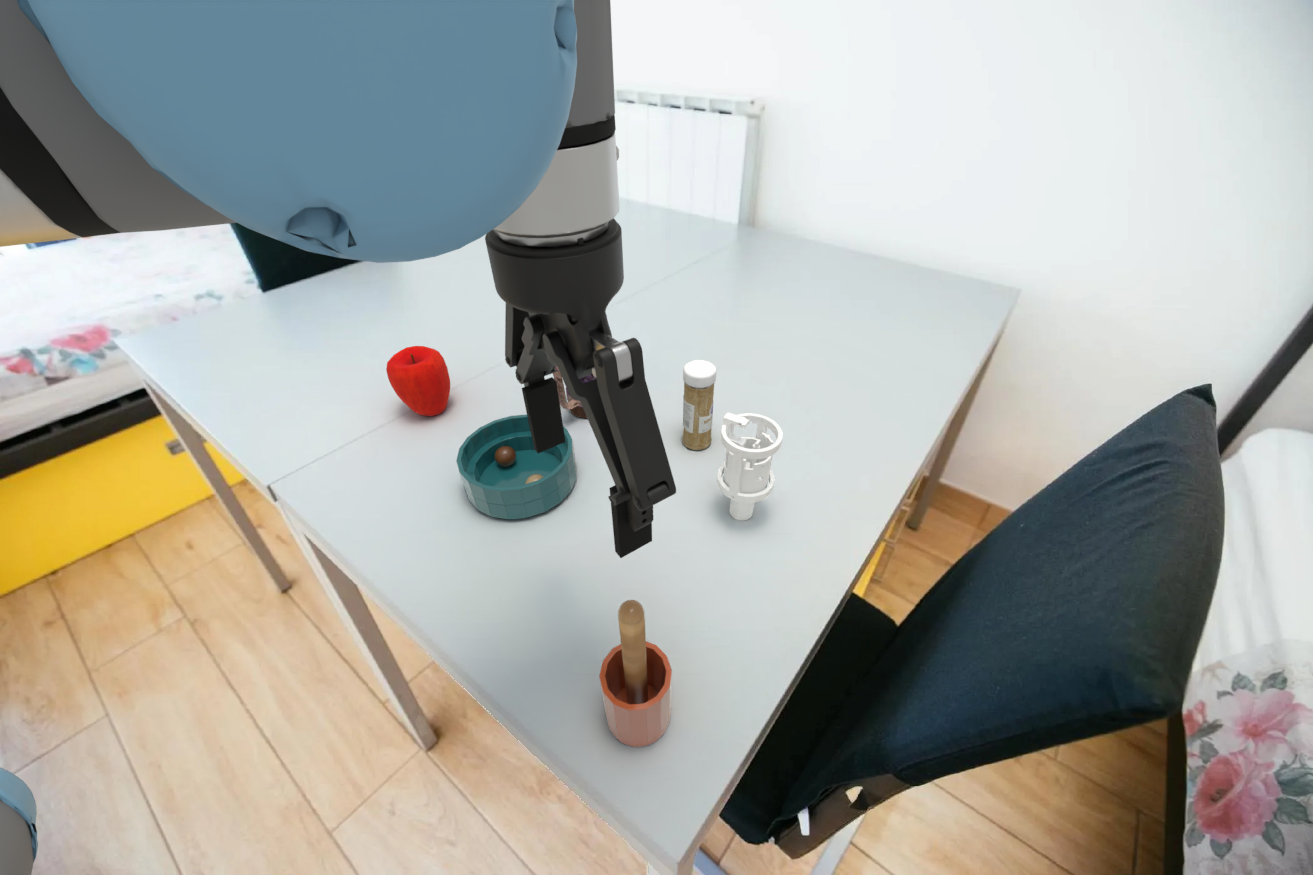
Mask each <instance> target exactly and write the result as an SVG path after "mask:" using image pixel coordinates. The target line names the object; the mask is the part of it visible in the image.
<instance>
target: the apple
mask: <svg viewBox="0 0 1313 875" xmlns="http://www.w3.org/2000/svg"><path fill="white" fill-rule="evenodd" d="M386 374H387V379H388V382H389V383H390V386H391V388H392V389H393V391H394V393H395V394H396V396H397V397H398V398H399V399H400V400H401V402H402V403H403V404H405V406H407V407H408V408H409V409H410V410H411V411H413V413H415V414H418V415H419V416H425V417H433V416H437V415H439V414H442V413H443V412H444V411H445V410H446V409H447V406H448V403H449V398H450V393H451V378H450V373H449V368H448V366H447V363H446V361H445V358H444V357H443V355H442V354H441V353H440V351H438V350H436V349H435V348H432V347H429V346H425V345H414V346H413V345H412V346H408V347H405V348H403V349H400V350H399V351H398V352H396V353H394V354H393V355H392V357H390V358H389V360H388V361H387V362H386Z"/></svg>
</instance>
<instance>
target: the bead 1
mask: <svg viewBox="0 0 1313 875" xmlns="http://www.w3.org/2000/svg"><path fill="white" fill-rule="evenodd" d="M515 460H516V452H515V450H514V449H513V448H511V447H509V446H502V447H500V448H498V449H497V451H496V452H495V461H496V462H497V463H498V464H499V465H500V466H503V467H508V466H510V465H512V464H513V463H514V462H515Z"/></svg>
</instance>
